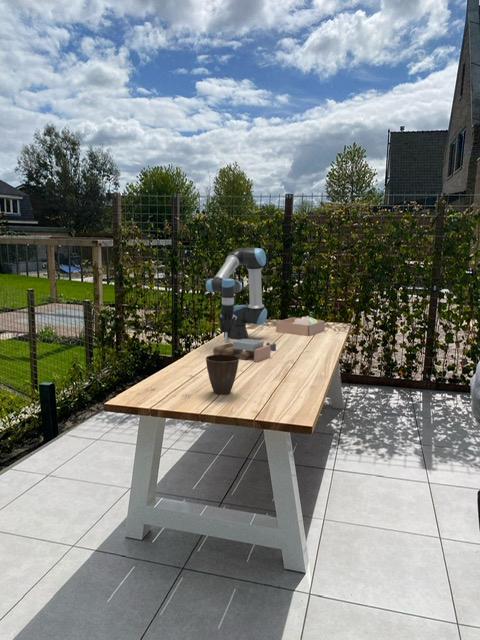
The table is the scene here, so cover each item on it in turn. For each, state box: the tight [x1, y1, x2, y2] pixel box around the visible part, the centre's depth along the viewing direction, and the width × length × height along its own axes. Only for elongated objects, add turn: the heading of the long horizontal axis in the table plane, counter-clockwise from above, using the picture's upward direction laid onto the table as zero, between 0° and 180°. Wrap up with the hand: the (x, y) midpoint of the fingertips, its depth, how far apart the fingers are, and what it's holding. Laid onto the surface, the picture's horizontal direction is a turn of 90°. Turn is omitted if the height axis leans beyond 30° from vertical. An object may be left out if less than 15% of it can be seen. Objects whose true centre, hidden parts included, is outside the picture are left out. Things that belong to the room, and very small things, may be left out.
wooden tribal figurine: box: [293, 315, 318, 325], centre depth 387 cm, size 14×14×24 cm
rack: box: [265, 342, 277, 352], centre depth 307 cm, size 16×6×4 cm, turn 149°
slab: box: [232, 338, 264, 351], centre depth 292 cm, size 12×14×4 cm
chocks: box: [212, 353, 254, 361], centre depth 298 cm, size 16×23×1 cm
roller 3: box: [238, 350, 254, 361], centre depth 293 cm, size 16×5×5 cm, turn 149°
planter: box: [275, 316, 326, 337], centre depth 384 cm, size 30×27×8 cm
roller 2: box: [222, 346, 244, 356], centre depth 299 cm, size 16×5×5 cm, turn 149°
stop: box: [253, 345, 271, 363], centre depth 288 cm, size 16×2×7 cm, turn 149°
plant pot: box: [205, 354, 240, 396], centre depth 221 cm, size 15×15×16 cm
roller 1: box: [212, 342, 233, 355], centre depth 302 cm, size 16×5×5 cm, turn 149°
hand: (227, 342), depth 300 cm, fingers closed
